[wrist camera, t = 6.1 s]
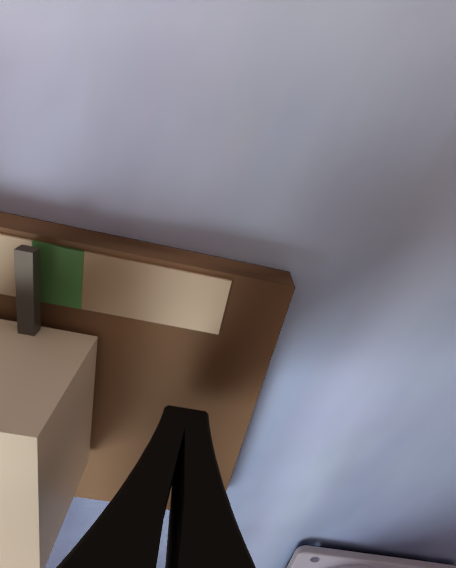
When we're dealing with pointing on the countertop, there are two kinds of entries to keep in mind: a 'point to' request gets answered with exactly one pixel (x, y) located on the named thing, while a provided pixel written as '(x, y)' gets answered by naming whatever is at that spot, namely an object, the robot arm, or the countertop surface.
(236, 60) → the countertop surface
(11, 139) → the countertop surface
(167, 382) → the frame
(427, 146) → the countertop surface
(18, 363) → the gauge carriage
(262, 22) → the countertop surface
